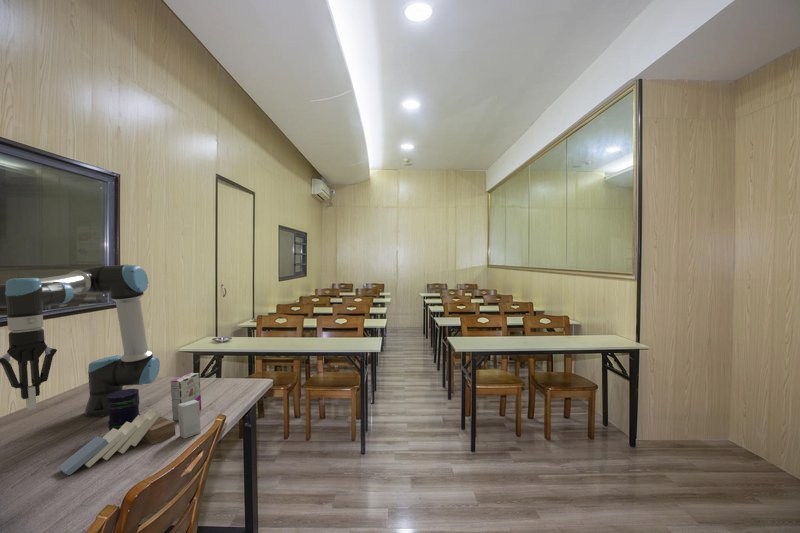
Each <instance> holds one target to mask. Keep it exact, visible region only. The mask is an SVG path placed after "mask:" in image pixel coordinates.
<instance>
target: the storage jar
mask: <svg viewBox="0 0 800 533" xmlns="http://www.w3.org/2000/svg"><path fill="white" fill-rule="evenodd" d="M139 394H140V393H139V389H137V388H128V389H123V390H120V391H116V392H113V393H111V394H109V395H108V411H109V417H108V418H109V420H108V422H107V423H108V431H111V430H112V429H113V428H114V429H117V430H119V429H120V428H121V427H122V426H123V425H124V424H125V423H126V422H130V423H132V422H133V420H134V419H135V418H136V417H137V416H138V415H140V416H141V413H140V406H139V405H140V395H139Z"/></svg>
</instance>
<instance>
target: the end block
mask: <svg viewBox="0 0 800 533" xmlns="http://www.w3.org/2000/svg"><path fill="white" fill-rule="evenodd" d="M174 436H176V421H175V420H173V419H168V418H166V417H162V416H159V417H158V419H157V420H156V421H155V422H154V424H153V425H152V426H151V427H150V429H149V430H148V431H147V432H146V434H145V435H144V436H143V437H142V439H141V440H142V441H144V442H146V443H148V444H151V445H154V444H157V443H160V442H161V441H165V440H166V439H169V438H172V437H174ZM141 440H140V441H141Z"/></svg>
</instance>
